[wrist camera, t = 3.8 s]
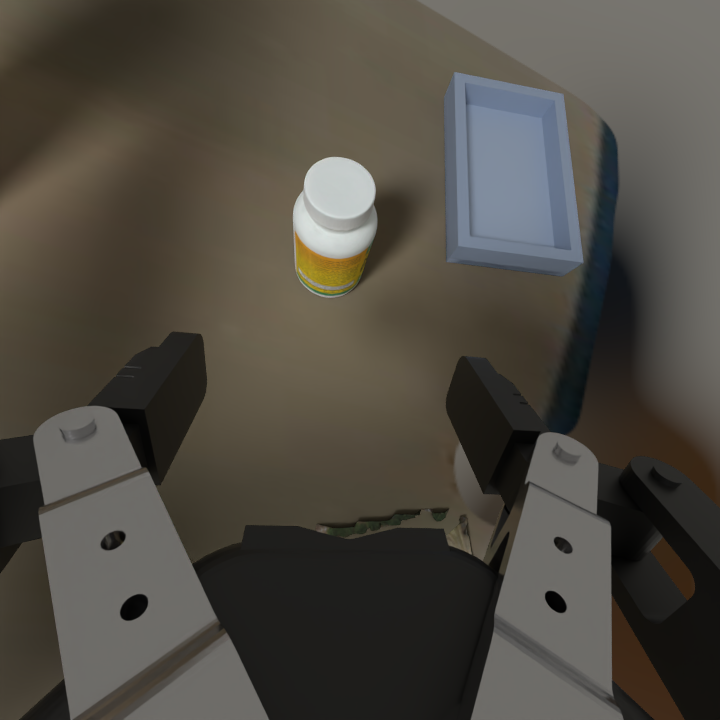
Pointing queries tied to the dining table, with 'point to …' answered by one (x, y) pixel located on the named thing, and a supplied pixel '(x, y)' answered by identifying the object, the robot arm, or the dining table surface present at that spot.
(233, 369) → the dining table surface
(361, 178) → the supplement bottle
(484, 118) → the tray
